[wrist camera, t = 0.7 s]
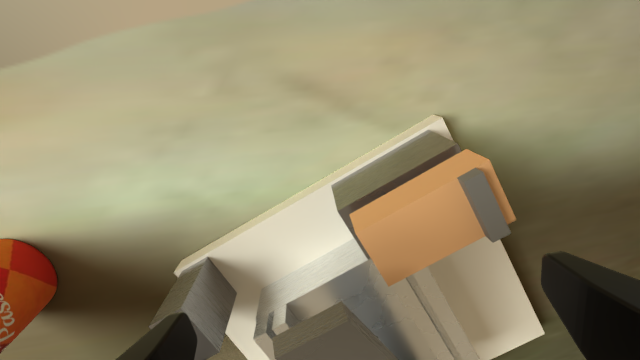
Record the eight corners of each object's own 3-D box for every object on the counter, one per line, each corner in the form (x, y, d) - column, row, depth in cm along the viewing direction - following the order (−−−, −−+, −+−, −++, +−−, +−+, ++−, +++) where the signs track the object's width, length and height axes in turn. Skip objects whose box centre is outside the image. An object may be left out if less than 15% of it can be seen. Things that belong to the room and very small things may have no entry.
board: (317, 423, 28) (318, 441, 27) (181, 260, 23) (173, 272, 22) (531, 319, 26) (544, 333, 25) (433, 114, 21) (442, 117, 20)
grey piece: (313, 427, 26) (316, 505, 22) (182, 271, 22) (148, 326, 17) (524, 325, 24) (578, 386, 20) (428, 129, 20) (467, 147, 15)
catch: (378, 262, 17) (391, 295, 14) (349, 214, 16) (357, 240, 14) (491, 202, 16) (525, 226, 14) (466, 148, 15) (497, 163, 13)
